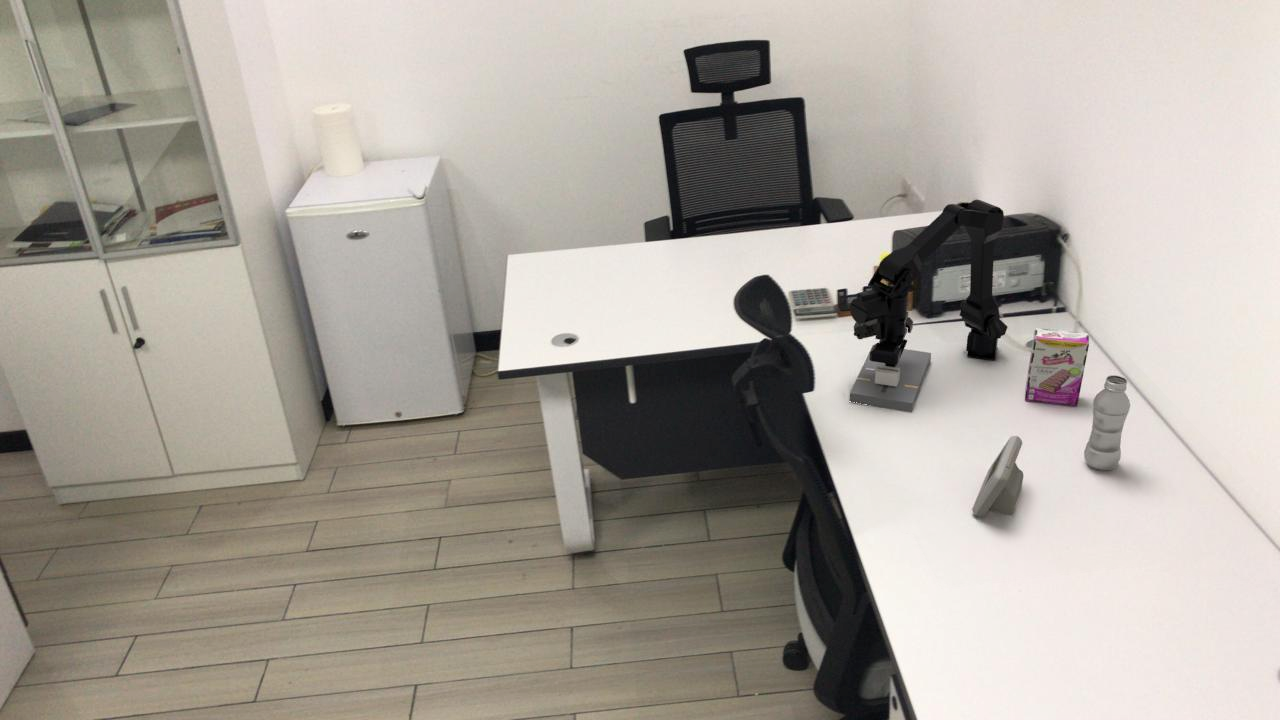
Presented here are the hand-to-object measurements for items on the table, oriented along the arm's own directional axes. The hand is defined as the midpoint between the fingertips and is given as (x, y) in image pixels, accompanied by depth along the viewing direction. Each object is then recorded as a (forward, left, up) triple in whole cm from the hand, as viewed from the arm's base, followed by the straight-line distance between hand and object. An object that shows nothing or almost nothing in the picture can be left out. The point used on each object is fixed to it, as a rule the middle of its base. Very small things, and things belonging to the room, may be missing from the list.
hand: (889, 371), depth 231 cm
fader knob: (0, +3, -1) cm, 3 cm away
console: (0, -2, -4) cm, 5 cm away
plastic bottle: (-46, +18, -4) cm, 50 cm away
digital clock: (-28, +35, -4) cm, 45 cm away
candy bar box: (-35, -5, -4) cm, 36 cm away
